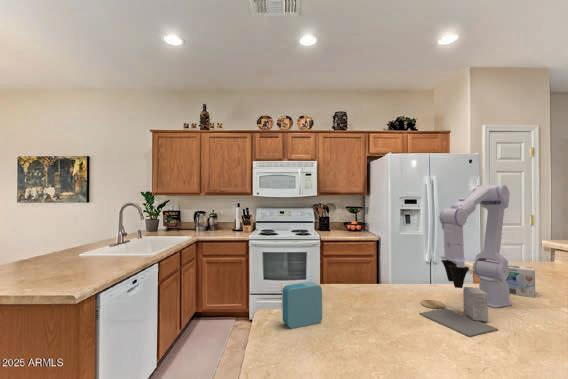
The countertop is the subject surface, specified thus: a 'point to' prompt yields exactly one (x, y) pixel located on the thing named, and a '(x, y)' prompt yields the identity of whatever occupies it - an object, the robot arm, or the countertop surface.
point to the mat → (458, 322)
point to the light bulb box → (521, 280)
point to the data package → (302, 304)
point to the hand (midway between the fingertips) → (455, 284)
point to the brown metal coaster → (433, 304)
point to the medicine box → (475, 303)
